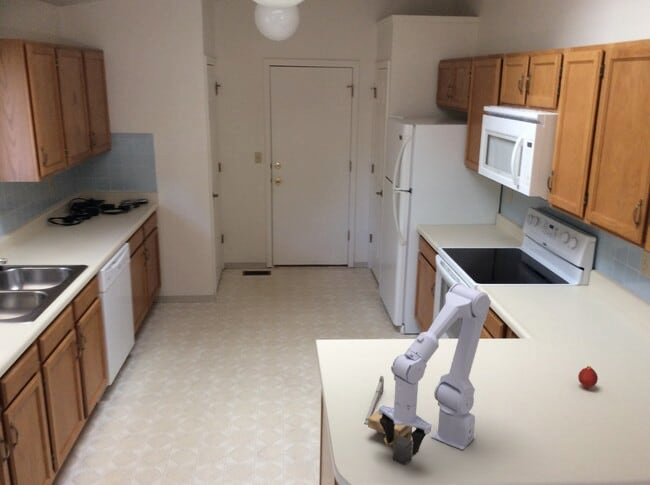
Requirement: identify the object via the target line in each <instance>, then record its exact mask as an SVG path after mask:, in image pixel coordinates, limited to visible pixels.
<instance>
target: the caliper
mask: <svg viewBox="0 0 650 485" xmlns="http://www.w3.org/2000/svg"><path fill="white" fill-rule="evenodd" d="M378 380H379V382H378V384H377V386H376V389H375V392H374V395H373V398H372V400H371V404H370V406H369V409H368V411H367V413H366V417H365V420H364V424H365V425H368V418H369V417H370V416H372V415H373V414H374V411H375V410H374V409H375V407H376V405H377V402H378V399H379V398H380V396H381V395H383V393H384V390H385V388H384V387H385V386H384V385H385V384H384V383H385V378H384V376H383V375H380V377H379V378H378Z"/></svg>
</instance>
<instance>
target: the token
mask: <svg viewBox="0 0 650 485" xmlns="http://www.w3.org/2000/svg"><path fill="white" fill-rule="evenodd" d="M396 440H397V439H395V438H393V441H392V442H391V443H390V444H388V443H387V440H386V435H384V437H383V442H384V444H385V445H387V446H389V447H390V446H393V447H394V441H396Z"/></svg>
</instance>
